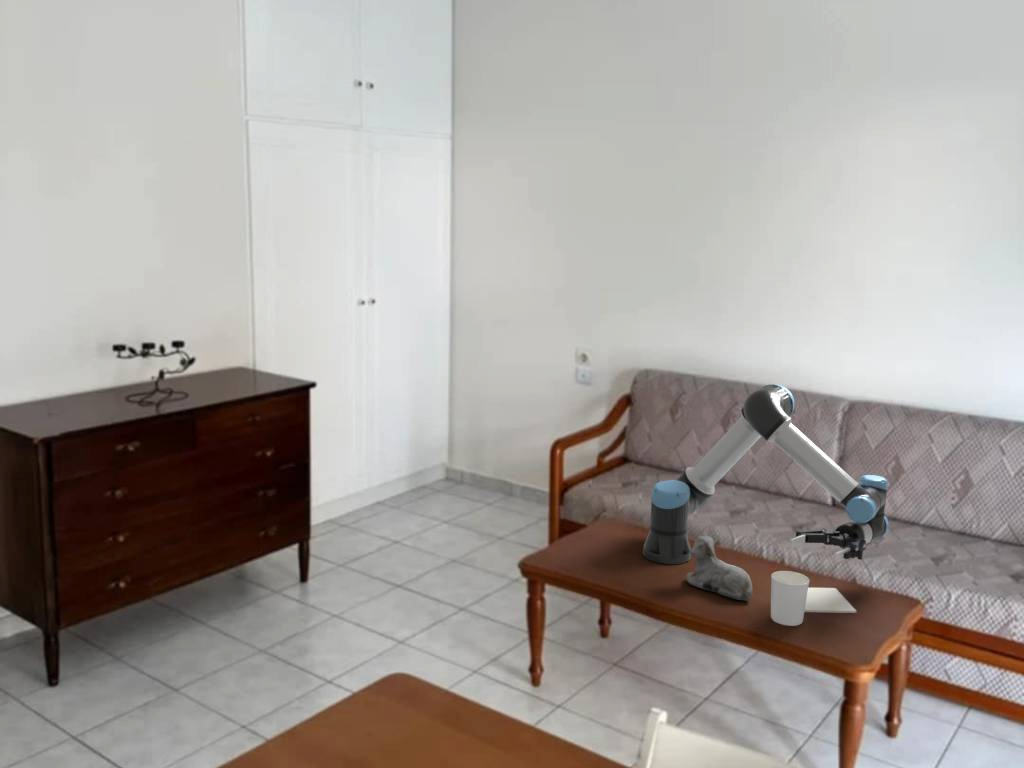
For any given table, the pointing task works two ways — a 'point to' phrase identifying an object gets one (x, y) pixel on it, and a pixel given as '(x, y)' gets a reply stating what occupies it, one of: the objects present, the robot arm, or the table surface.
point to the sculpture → (718, 572)
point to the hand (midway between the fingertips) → (813, 551)
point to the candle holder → (788, 597)
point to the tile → (827, 601)
